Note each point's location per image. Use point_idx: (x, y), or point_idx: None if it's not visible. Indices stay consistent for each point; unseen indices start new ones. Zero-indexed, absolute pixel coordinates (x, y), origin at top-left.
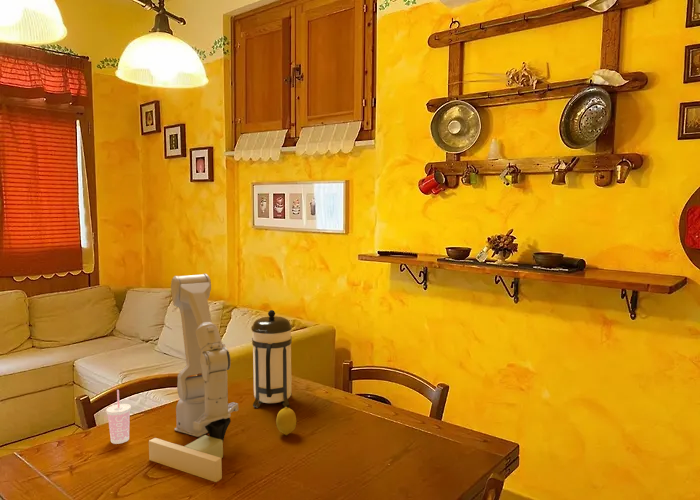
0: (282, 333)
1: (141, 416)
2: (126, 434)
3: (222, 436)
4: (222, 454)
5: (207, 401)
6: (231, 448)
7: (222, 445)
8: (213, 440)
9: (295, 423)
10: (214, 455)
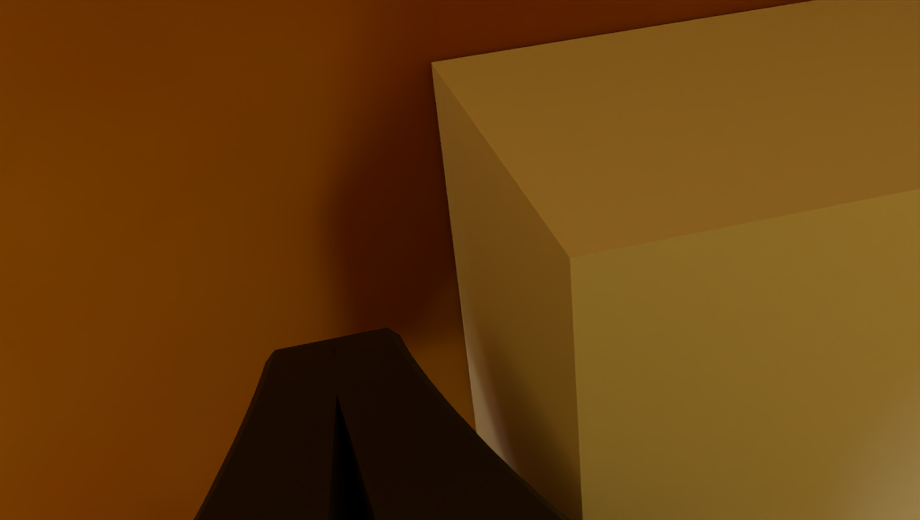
0: None
1: None
2: None
3: (318, 513)
4: (466, 76)
5: None
6: (3, 252)
7: (519, 168)
8: (755, 457)
9: None
10: (801, 56)
